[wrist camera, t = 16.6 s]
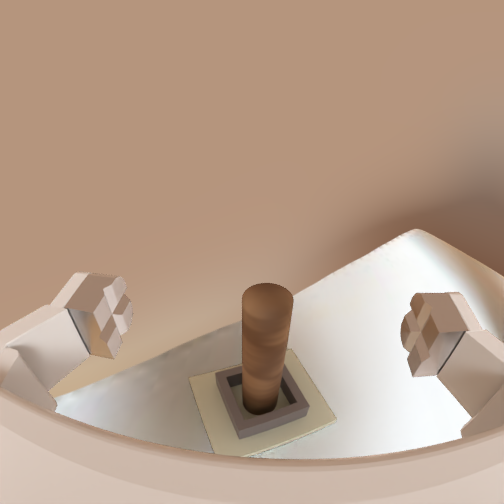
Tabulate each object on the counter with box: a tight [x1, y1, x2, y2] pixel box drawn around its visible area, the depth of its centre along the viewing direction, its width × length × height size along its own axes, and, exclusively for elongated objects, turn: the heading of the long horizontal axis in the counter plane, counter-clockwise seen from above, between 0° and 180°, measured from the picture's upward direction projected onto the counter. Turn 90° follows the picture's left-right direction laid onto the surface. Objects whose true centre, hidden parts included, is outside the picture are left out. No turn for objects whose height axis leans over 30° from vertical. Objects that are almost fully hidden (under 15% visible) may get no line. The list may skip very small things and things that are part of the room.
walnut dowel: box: [242, 283, 293, 416], centre depth 28 cm, size 4×4×16 cm
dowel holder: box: [189, 349, 337, 457], centre depth 32 cm, size 14×12×4 cm
